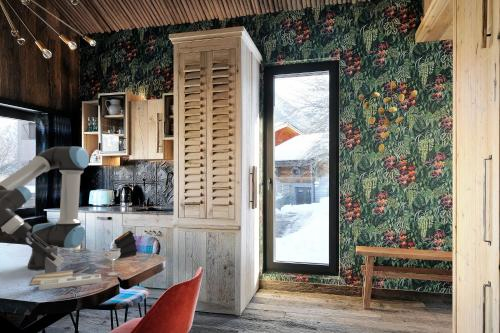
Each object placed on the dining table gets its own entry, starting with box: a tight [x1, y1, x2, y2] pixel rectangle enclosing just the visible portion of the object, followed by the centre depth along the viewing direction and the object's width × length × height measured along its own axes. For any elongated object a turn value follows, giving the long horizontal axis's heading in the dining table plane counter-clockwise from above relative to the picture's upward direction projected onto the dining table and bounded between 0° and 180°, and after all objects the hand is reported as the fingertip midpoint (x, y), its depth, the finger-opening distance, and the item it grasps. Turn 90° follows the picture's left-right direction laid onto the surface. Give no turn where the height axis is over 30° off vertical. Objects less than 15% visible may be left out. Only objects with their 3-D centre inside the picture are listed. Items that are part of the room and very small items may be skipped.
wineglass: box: [105, 247, 121, 276], centre depth 165 cm, size 7×7×12 cm
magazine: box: [113, 230, 138, 259], centre depth 200 cm, size 4×13×15 cm, turn 139°
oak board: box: [30, 269, 74, 287], centre depth 156 cm, size 16×16×1 cm
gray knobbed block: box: [44, 245, 59, 273], centre depth 144 cm, size 4×4×11 cm
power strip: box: [38, 273, 102, 291], centre depth 148 cm, size 7×24×3 cm, turn 117°
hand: (61, 262), depth 146 cm, fingers closed on gray knobbed block, 4 cm apart
